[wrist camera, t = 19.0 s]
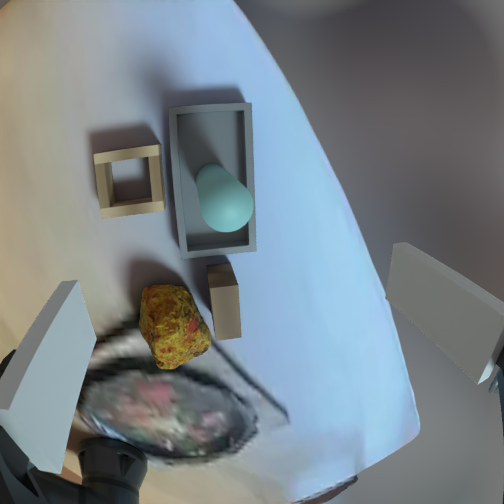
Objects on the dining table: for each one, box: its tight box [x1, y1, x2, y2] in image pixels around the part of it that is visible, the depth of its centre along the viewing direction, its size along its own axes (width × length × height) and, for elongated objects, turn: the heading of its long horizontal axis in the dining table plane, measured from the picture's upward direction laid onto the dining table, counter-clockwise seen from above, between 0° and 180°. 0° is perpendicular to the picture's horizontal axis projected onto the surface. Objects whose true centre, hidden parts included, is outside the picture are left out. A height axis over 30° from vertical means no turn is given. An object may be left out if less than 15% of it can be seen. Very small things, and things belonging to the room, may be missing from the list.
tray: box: [168, 103, 256, 259], centre depth 33 cm, size 9×17×2 cm, turn 2°
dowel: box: [196, 163, 253, 232], centre depth 27 cm, size 4×4×14 cm
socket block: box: [94, 144, 166, 219], centre depth 31 cm, size 7×7×3 cm
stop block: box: [206, 263, 241, 341], centre depth 37 cm, size 3×7×6 cm, turn 2°
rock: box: [139, 284, 211, 369], centre depth 37 cm, size 11×8×10 cm
